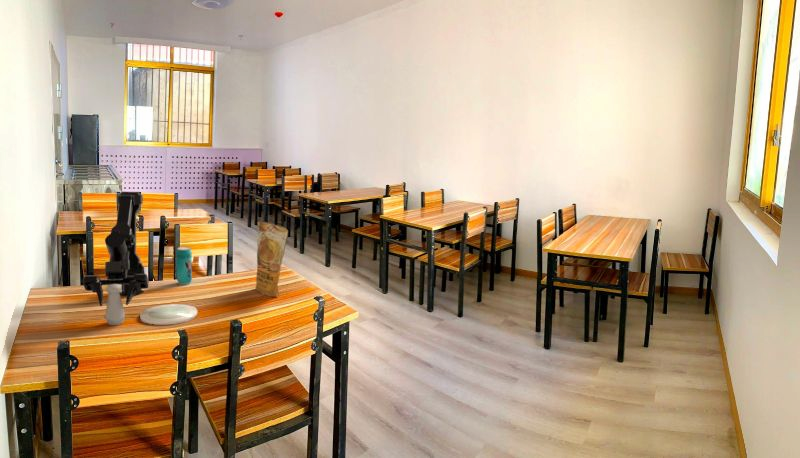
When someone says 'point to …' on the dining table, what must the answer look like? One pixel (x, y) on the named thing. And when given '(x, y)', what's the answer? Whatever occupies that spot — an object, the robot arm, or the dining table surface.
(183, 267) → the beverage can
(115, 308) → the salt shaker
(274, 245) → the pancake mix bag
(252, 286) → the dining table surface
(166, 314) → the dish
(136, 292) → the robot arm
